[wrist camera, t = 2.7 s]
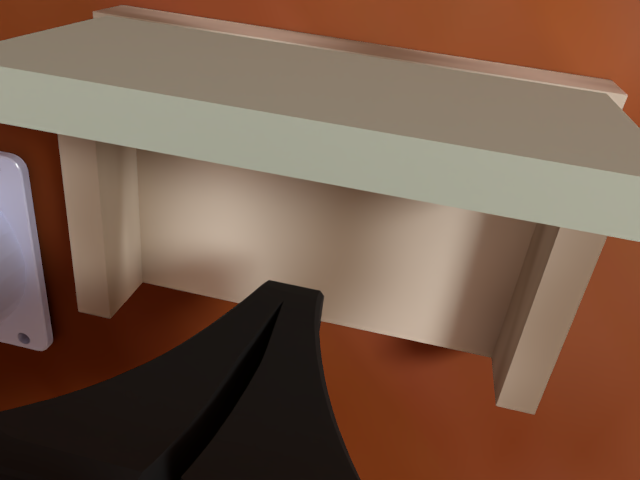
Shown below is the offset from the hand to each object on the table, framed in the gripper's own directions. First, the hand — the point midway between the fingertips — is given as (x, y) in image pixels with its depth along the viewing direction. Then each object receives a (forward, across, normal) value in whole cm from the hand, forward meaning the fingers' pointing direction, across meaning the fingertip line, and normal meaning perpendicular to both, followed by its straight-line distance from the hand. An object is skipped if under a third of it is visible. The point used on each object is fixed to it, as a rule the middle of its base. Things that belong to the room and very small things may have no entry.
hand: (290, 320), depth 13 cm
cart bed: (+5, 0, -2) cm, 5 cm away
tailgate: (+3, 0, -6) cm, 7 cm away
